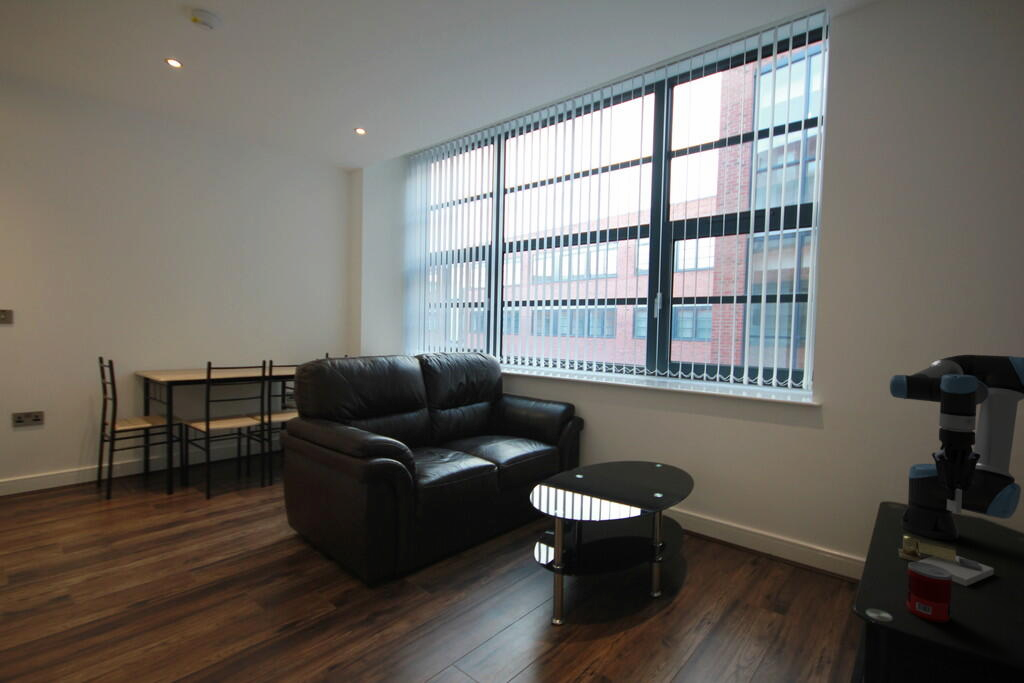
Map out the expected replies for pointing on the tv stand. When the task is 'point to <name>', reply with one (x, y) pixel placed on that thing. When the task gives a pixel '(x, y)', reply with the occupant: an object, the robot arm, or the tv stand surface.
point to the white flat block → (961, 569)
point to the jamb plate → (909, 556)
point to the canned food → (929, 591)
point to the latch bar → (927, 548)
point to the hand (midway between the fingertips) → (953, 511)
